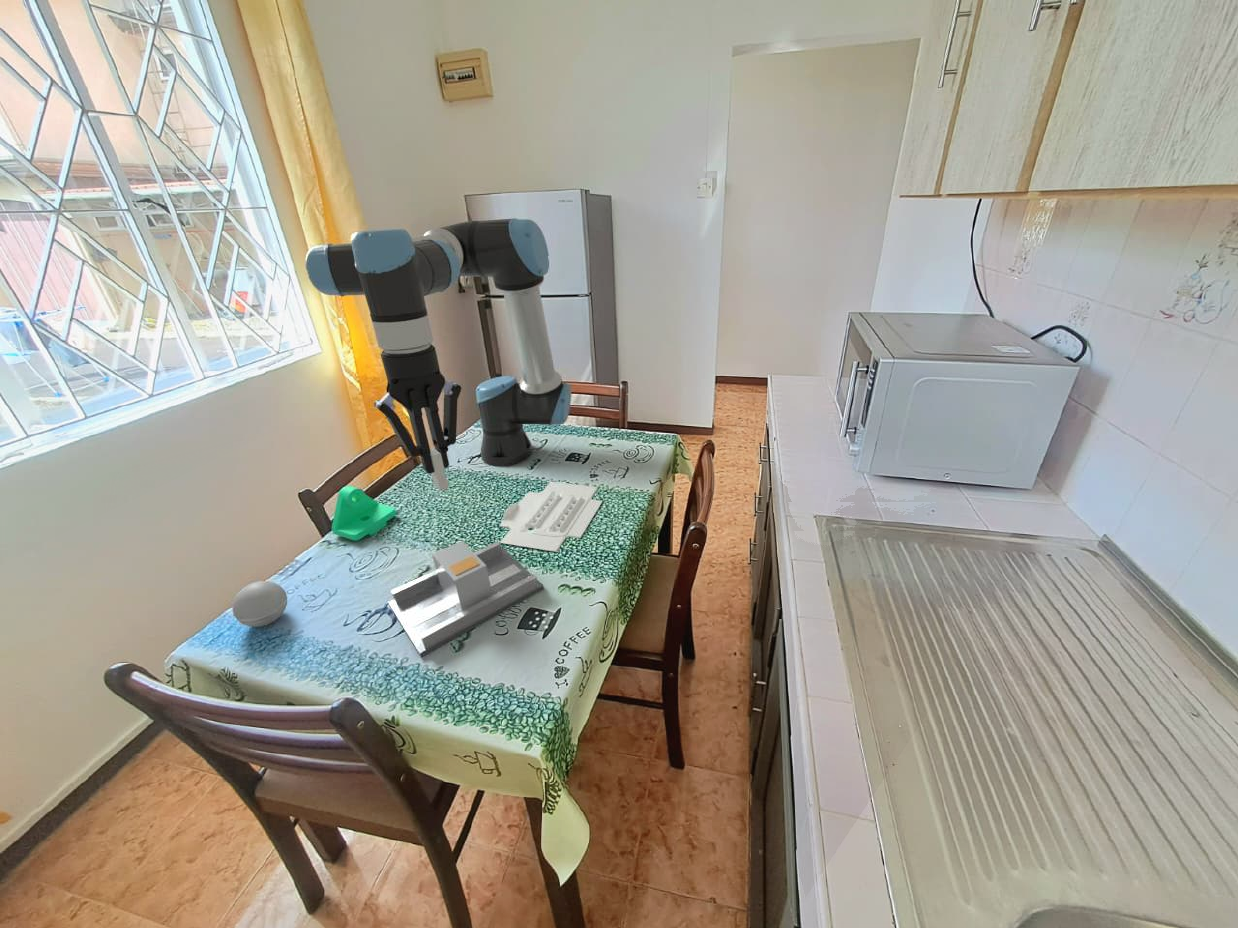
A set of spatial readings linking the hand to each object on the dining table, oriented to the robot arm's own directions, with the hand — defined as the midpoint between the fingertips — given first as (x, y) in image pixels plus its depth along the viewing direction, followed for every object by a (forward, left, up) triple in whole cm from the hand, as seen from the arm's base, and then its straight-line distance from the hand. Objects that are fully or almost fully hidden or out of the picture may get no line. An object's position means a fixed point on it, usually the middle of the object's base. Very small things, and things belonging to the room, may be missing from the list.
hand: (441, 486), depth 82 cm
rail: (0, 0, -24) cm, 24 cm away
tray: (-28, -13, -25) cm, 40 cm away
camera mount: (+7, -39, -25) cm, 47 cm away
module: (0, 0, -23) cm, 23 cm away
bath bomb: (+30, -20, -25) cm, 44 cm away
